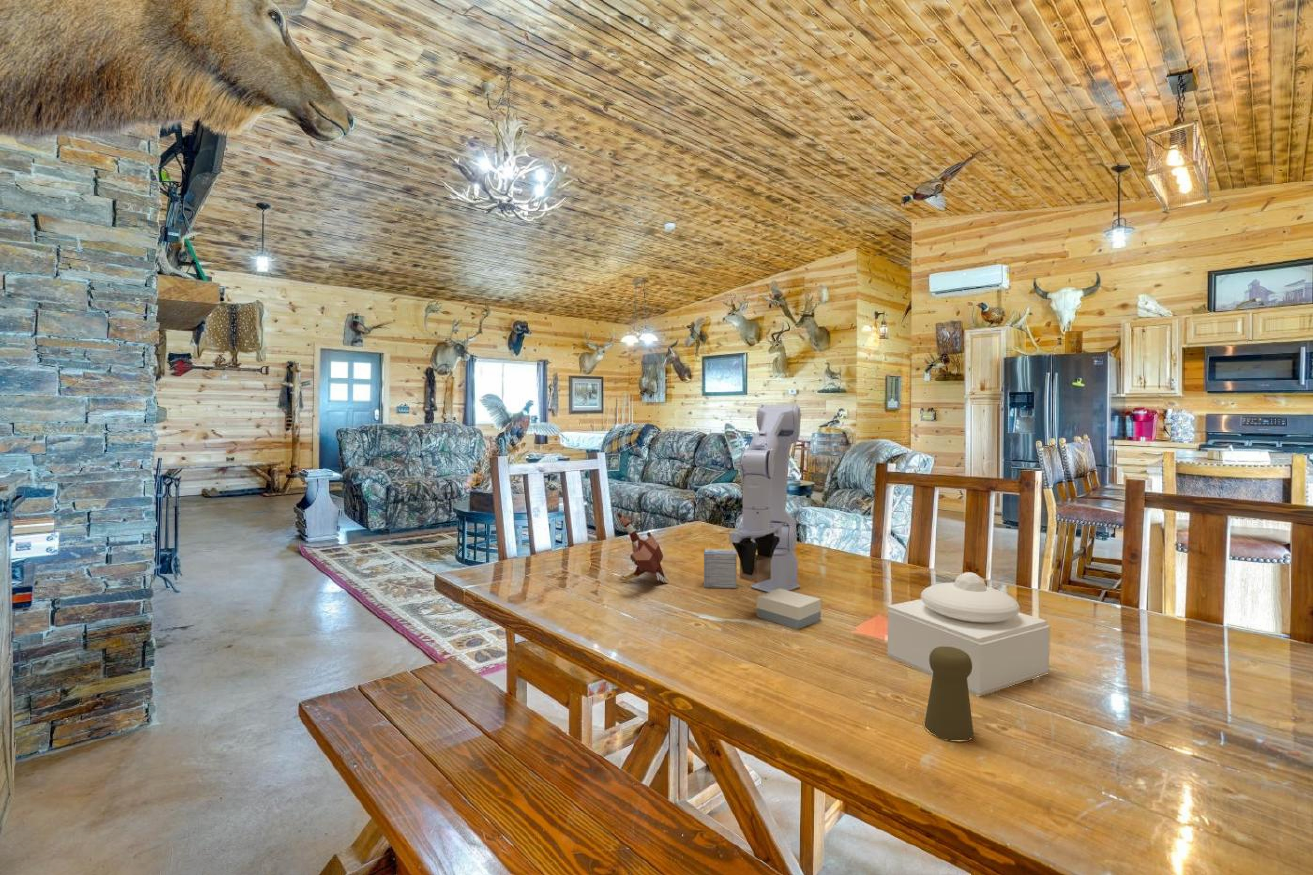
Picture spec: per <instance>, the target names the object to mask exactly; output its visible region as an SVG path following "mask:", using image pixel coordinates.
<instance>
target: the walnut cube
mask: <svg viewBox="0 0 1313 875" xmlns="http://www.w3.org/2000/svg"><path fill="white" fill-rule="evenodd" d="M739 579H741V580H743V581H748V582H752V583H754V584H757V583H759V582H763V581H766V580H770V579H771V558H769V557H765V556H761V555H758V554H755V559H754V570H753V574H752V575H747V574H743V570H742V566H741V562H740V561H739Z"/></svg>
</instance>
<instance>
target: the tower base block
mask: <svg viewBox="0 0 1313 875" xmlns="http://www.w3.org/2000/svg"><path fill="white" fill-rule="evenodd" d="M821 611H822V610H821ZM821 611H820V612H818V613H815V614H813V615H811V616H808V617H806V618H803V619H801V620H796V619H793V618H789V617H786V616H783V615H779V614H776V613H772V612H769V611H766V610H762V609H759V608H757V607H756V617H757V618H759V619H763V620H766V621H770V622H773V623H776V624H779V625H781V626H785V627H788V628H791V629H793V630H796V631H797V630H799V629H802V628H805V627H807V626H810V625H811V624H815V623H818V622H819V621H821V618H822V616H821V614H822V612H821Z"/></svg>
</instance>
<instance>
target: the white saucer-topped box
mask: <svg viewBox="0 0 1313 875" xmlns="http://www.w3.org/2000/svg"><path fill="white" fill-rule="evenodd" d="M1020 609H1021V608H1020V605H1019V602H1018V601H1016V599H1014V598H1013V597H1012V596H1010V595H1009V594H1008V593H1006V592H1003V591H1001V590H998V589H995V588H993V587H990V586H986V583H985V580H984V578H982V577H981V576H979V575H978V574H977V573H974V572H969V571H967V572H963V573H961V574H959V575H958V576H956V578H955V581H954V582H942V583H941V582H940V583H936V584H932V585H930V586H928V587H926V588H924V589H923V591H921V593H920V598H919V599H915V600H910V601H905V602H899V603H895V604H891V605H890V604H889V605H886V611H888V616H887V618H888V619H887V621H888V622H887V654H886V655H887V656H888V657H890V658H892V659H894V660H897V661H898V662H901V663H903V664H906V665H908V666H909V667H911V666H912V668H914V669H916V670H919V671H920V670H921V672H922V671H923V673H925V674H927V673H928V674H927V675H929V676H931V675H932V677H933V671H932V669H931V667H930V663H929V656H930V653H931V652H932V650H933V649H934V648H937V647H942V646H946V647H954V648H957V649H960V650H962V651H964V652H966V653H967V654H968V655H969V657H970V658H971V662H972V671H971V674H970V675H969V676H968V677H967V682H968V691H969V692H970V693H969V694H971V693H972V695H973V694H975V695H974V696H976V695H979V696H980V695H984V696H986V695H985V694H987V695H989V694H988V693H990V692H993V693H995V692H994V691H996V690H999V691H1001V690H1000V689H1002V688H1005V687H1008V686H1010V685H1013V684H1016V683H1019V682H1022V681H1024V680H1029V679H1032V678H1035V677H1037V676H1040V675H1043V674H1045V673H1048V674H1049V672H1050V647H1051V645H1050V643H1051V642H1050V641H1051V626H1050V625H1048V620H1046V619H1042V618H1039V617H1036V616H1032V615H1029V614H1027V613H1026V614H1025V613H1022V612H1020ZM1008 688H1009V687H1008ZM1005 689H1006V688H1005ZM1002 690H1003V689H1002ZM996 692H997V691H996ZM990 694H991V693H990Z"/></svg>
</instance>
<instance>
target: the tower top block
mask: <svg viewBox="0 0 1313 875" xmlns="http://www.w3.org/2000/svg"><path fill="white" fill-rule="evenodd" d="M756 598H757V600H756V601H757V602H756V609H757V608H759V609H762V610H766V611H769V612H772V613H776V614H779V615H783V616H786V617H789V618H793V619H796V620H801V619H803V618H806V617H808V616H811V615H813V614H815V613H818V612H820V611H822V598H819V597H816V596H815V597H814V596H810V595H806V594H803V593H799V592H795V591H793V590H790V591H788V590H784V589H780V588H779V589H777V590H774V591H771V592H765V593H762V594H759V595H757V597H756Z"/></svg>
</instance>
